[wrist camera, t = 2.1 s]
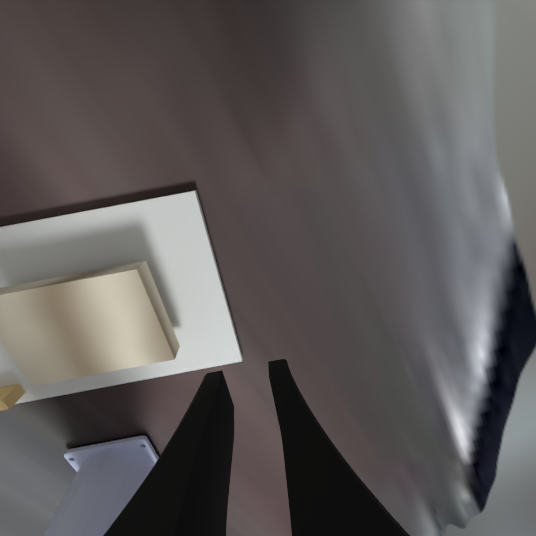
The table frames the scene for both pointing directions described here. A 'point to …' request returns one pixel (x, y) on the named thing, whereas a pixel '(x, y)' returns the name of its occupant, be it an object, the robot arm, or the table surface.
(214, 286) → the board
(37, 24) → the table surface
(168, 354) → the beige flat block
